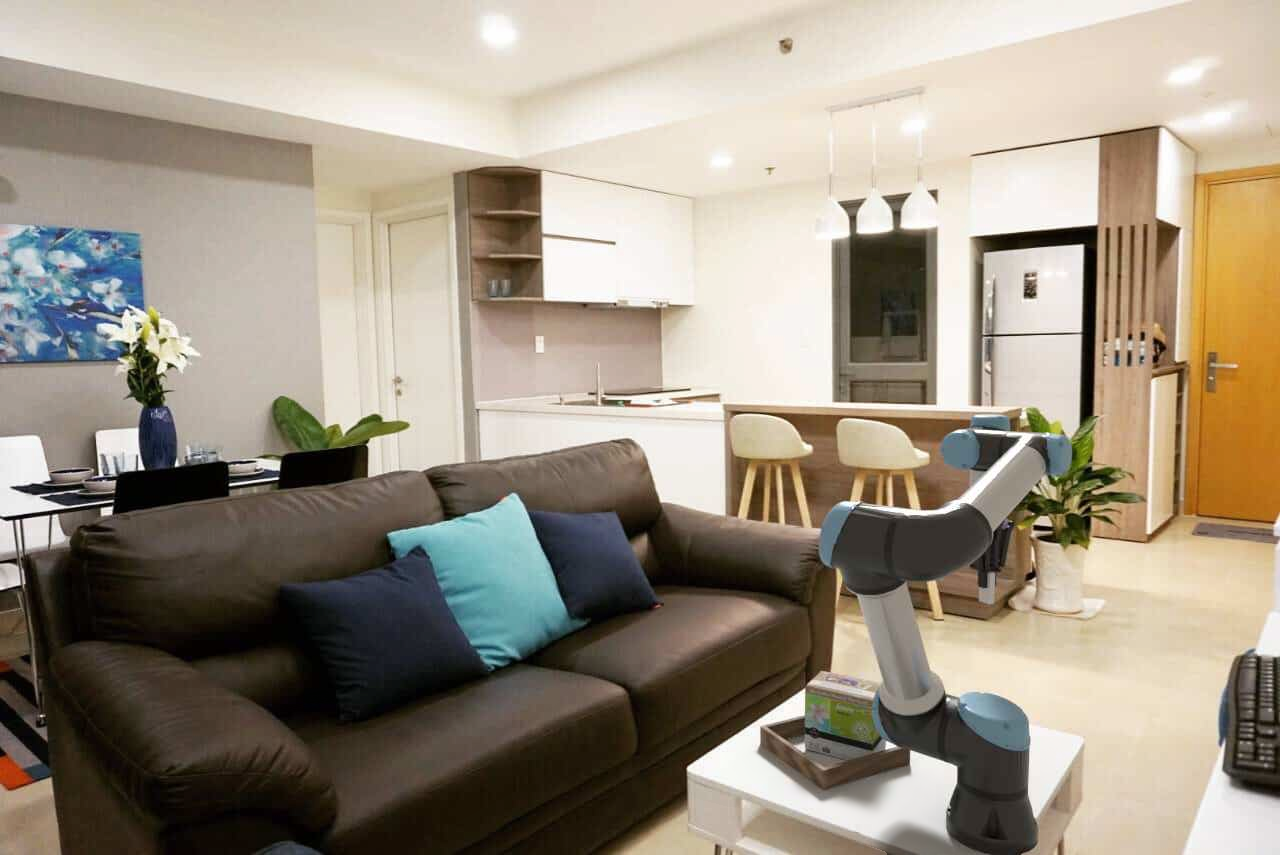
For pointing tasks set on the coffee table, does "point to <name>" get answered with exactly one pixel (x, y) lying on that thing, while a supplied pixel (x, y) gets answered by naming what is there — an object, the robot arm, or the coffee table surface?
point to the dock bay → (834, 774)
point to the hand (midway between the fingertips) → (986, 602)
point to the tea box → (841, 716)
